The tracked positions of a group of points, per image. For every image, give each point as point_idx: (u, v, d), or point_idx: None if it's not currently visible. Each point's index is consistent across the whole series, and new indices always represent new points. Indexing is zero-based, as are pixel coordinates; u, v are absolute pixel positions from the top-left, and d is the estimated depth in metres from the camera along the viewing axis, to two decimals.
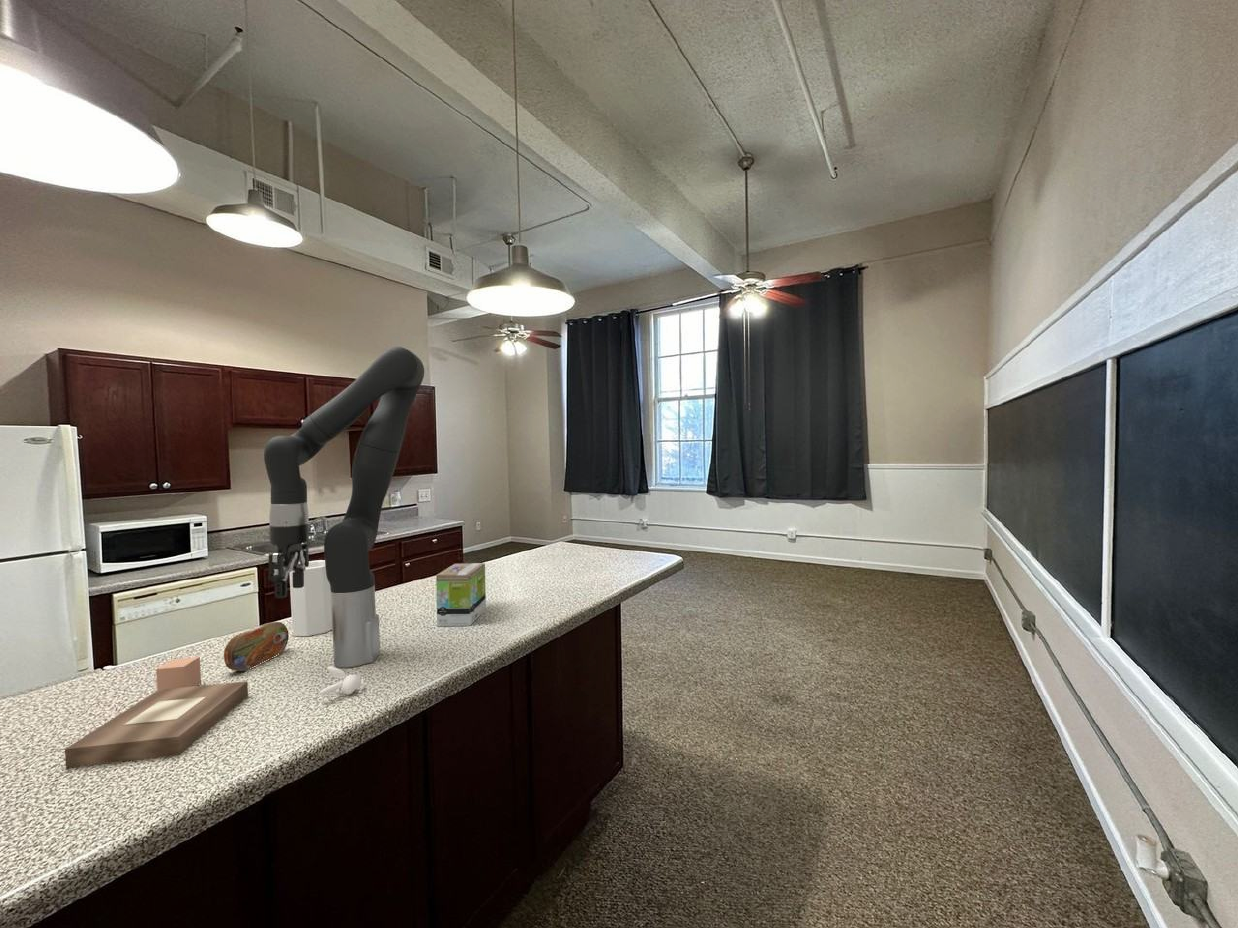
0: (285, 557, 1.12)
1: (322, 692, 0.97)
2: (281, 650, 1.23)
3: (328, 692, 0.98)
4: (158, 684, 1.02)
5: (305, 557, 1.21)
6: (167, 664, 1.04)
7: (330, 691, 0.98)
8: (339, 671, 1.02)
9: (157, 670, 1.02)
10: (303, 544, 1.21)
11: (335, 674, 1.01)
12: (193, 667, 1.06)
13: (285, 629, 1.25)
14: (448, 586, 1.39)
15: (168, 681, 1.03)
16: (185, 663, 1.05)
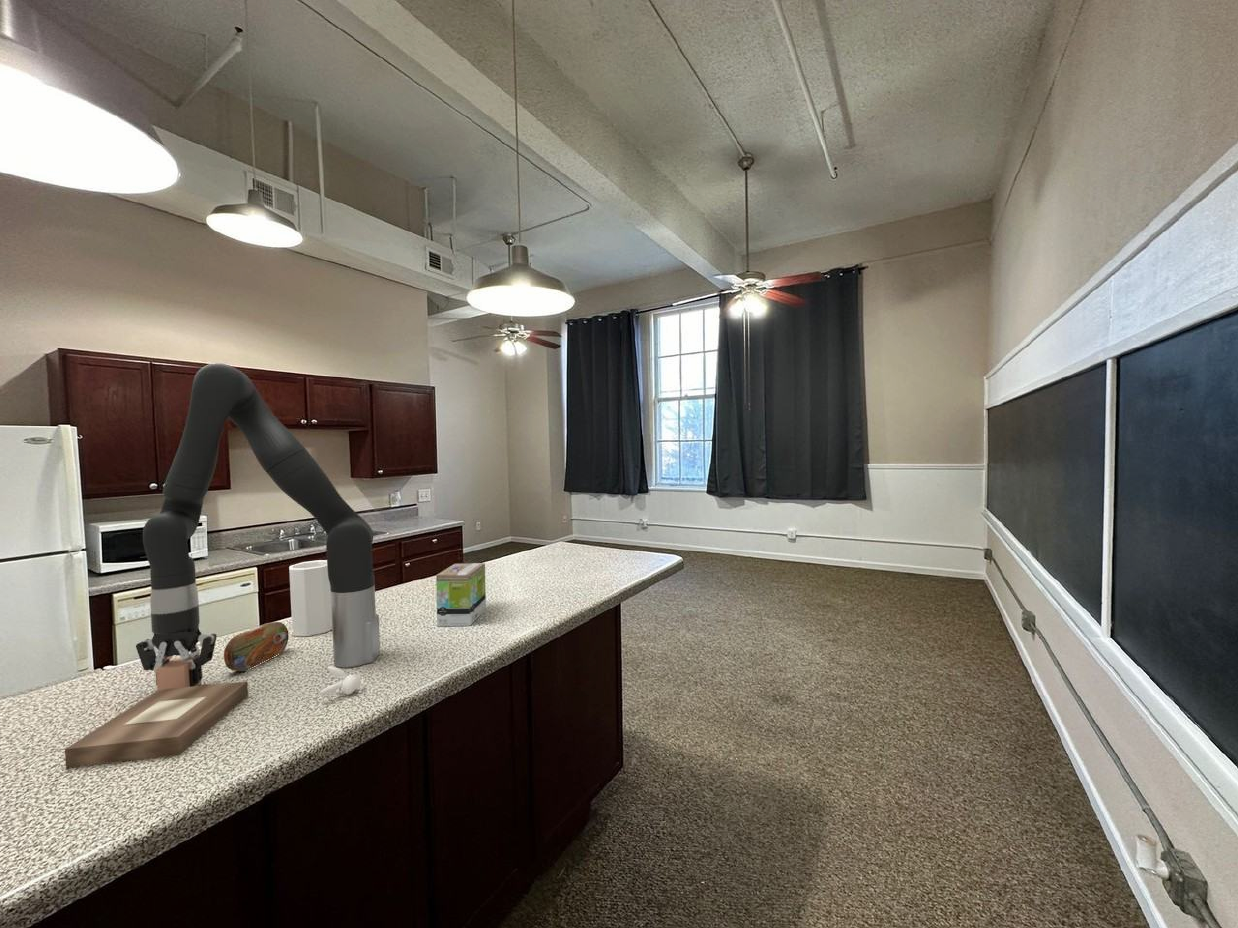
0: None
1: (322, 692, 0.97)
2: (281, 650, 1.23)
3: (328, 692, 0.98)
4: (158, 684, 1.02)
5: (154, 654, 1.05)
6: (167, 664, 1.04)
7: (330, 691, 0.98)
8: (339, 671, 1.02)
9: (157, 670, 1.02)
10: None
11: (335, 674, 1.01)
12: None
13: (285, 629, 1.25)
14: (448, 586, 1.39)
15: (168, 680, 1.03)
16: (185, 663, 1.05)
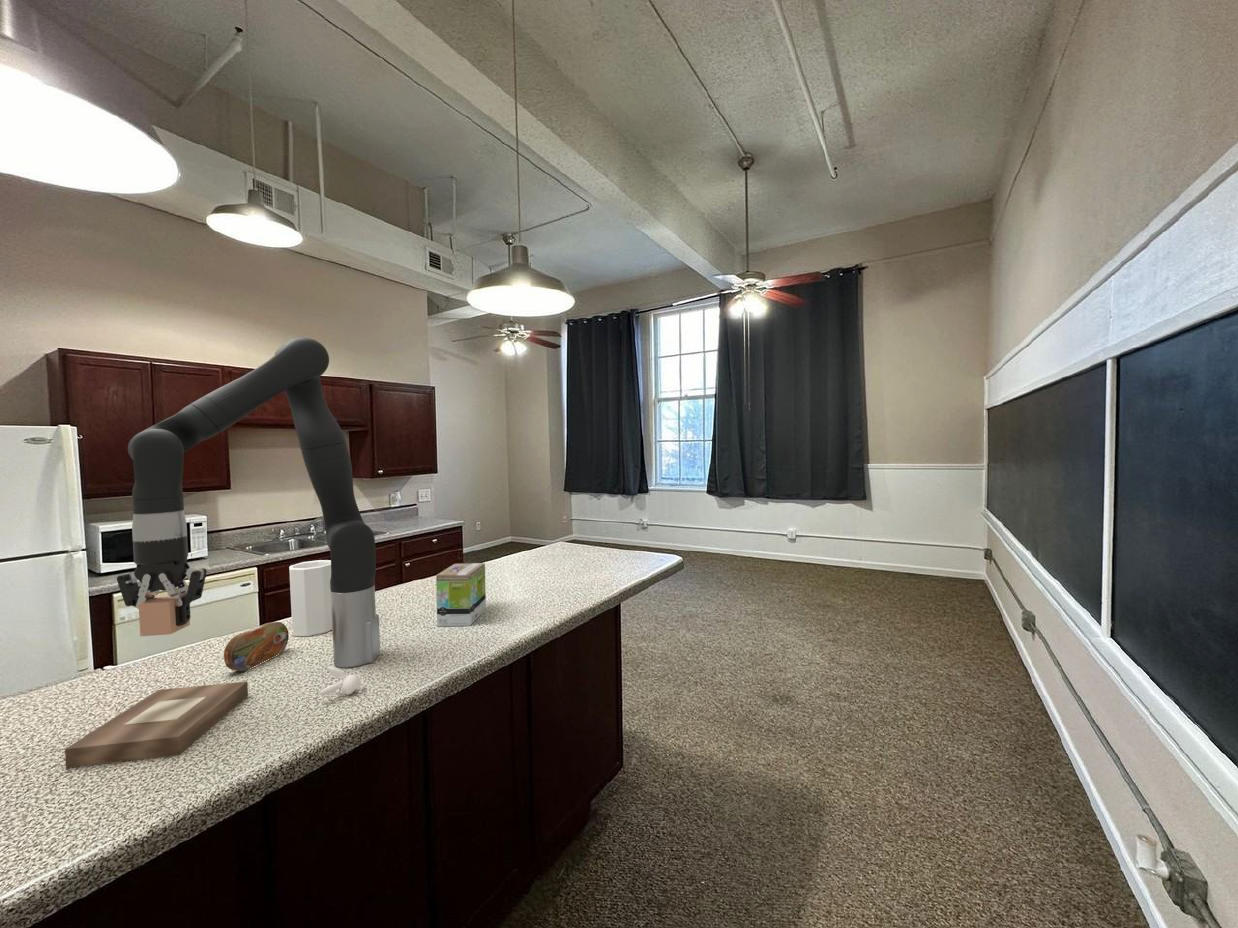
0: None
1: (322, 692, 0.97)
2: (281, 650, 1.23)
3: (328, 692, 0.98)
4: (140, 621, 0.91)
5: (138, 589, 0.94)
6: (151, 600, 0.93)
7: (330, 691, 0.98)
8: (339, 671, 1.02)
9: (140, 605, 0.91)
10: None
11: (335, 674, 1.01)
12: None
13: (285, 629, 1.25)
14: (448, 586, 1.39)
15: (152, 617, 0.91)
16: (171, 599, 0.93)
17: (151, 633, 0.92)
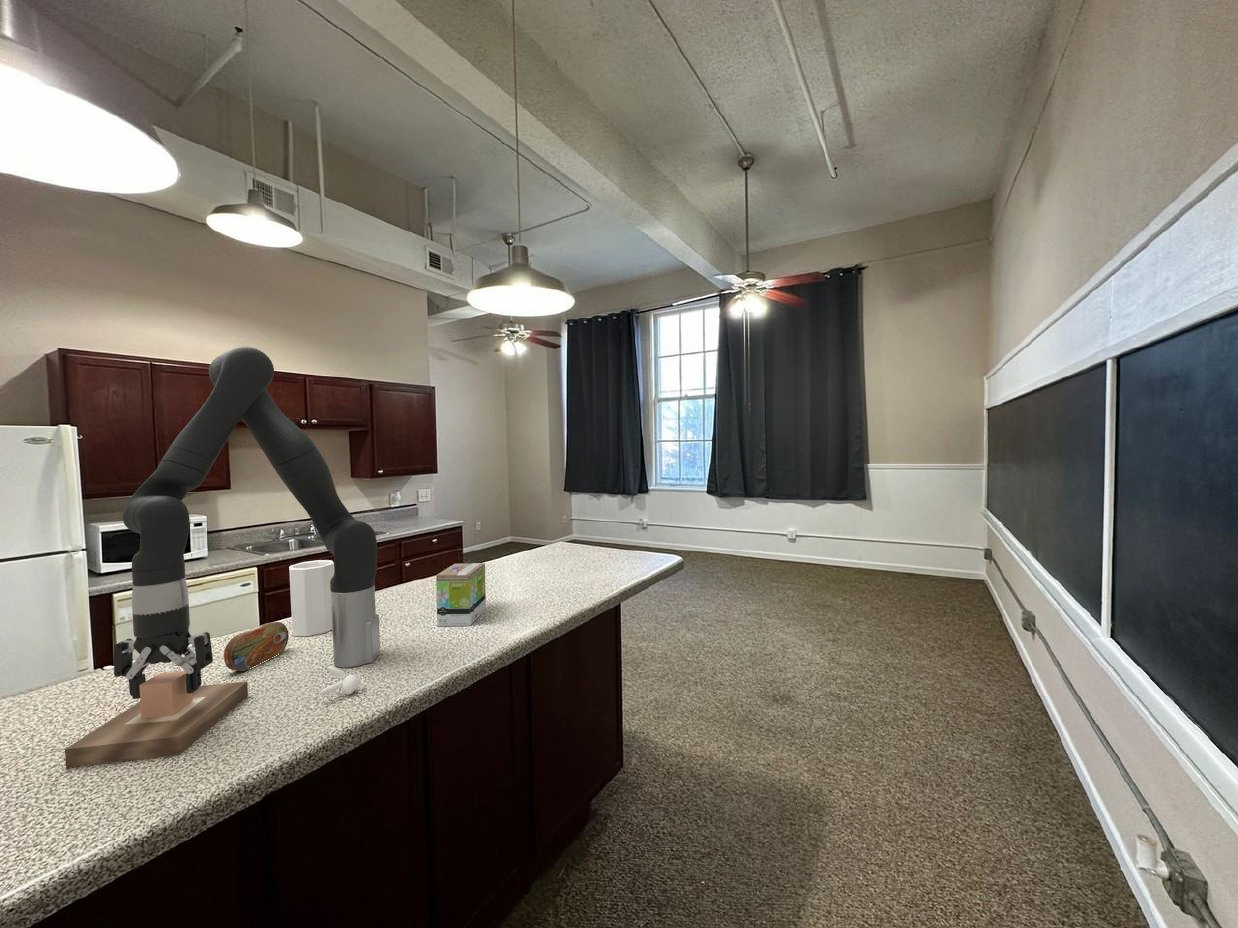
0: None
1: (322, 692, 0.97)
2: (281, 650, 1.23)
3: (328, 692, 0.98)
4: (141, 703, 0.88)
5: (131, 657, 0.90)
6: (153, 679, 0.90)
7: (330, 691, 0.98)
8: (339, 671, 1.02)
9: (140, 686, 0.88)
10: (129, 641, 0.90)
11: (335, 674, 1.01)
12: (183, 682, 0.91)
13: (285, 629, 1.25)
14: (448, 586, 1.39)
15: (154, 699, 0.88)
16: (173, 678, 0.90)
17: (153, 715, 0.88)
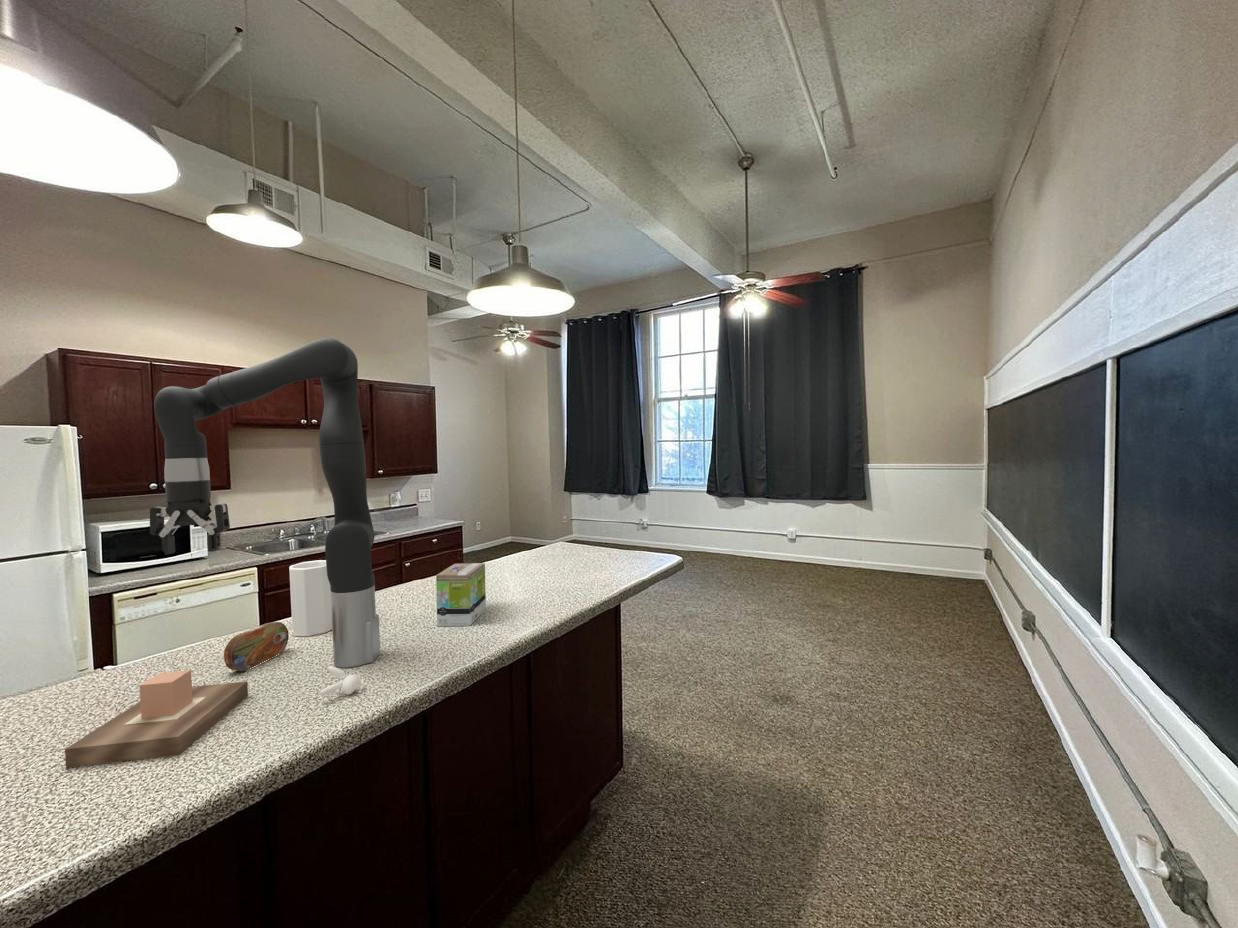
0: None
1: (322, 692, 0.97)
2: (281, 650, 1.23)
3: (328, 692, 0.98)
4: (141, 703, 0.88)
5: (163, 522, 1.10)
6: (153, 679, 0.90)
7: (330, 691, 0.98)
8: (339, 671, 1.02)
9: (140, 686, 0.88)
10: None
11: (335, 674, 1.01)
12: (183, 682, 0.91)
13: (285, 629, 1.25)
14: (448, 586, 1.39)
15: (154, 699, 0.88)
16: (173, 678, 0.90)
17: (153, 715, 0.88)
